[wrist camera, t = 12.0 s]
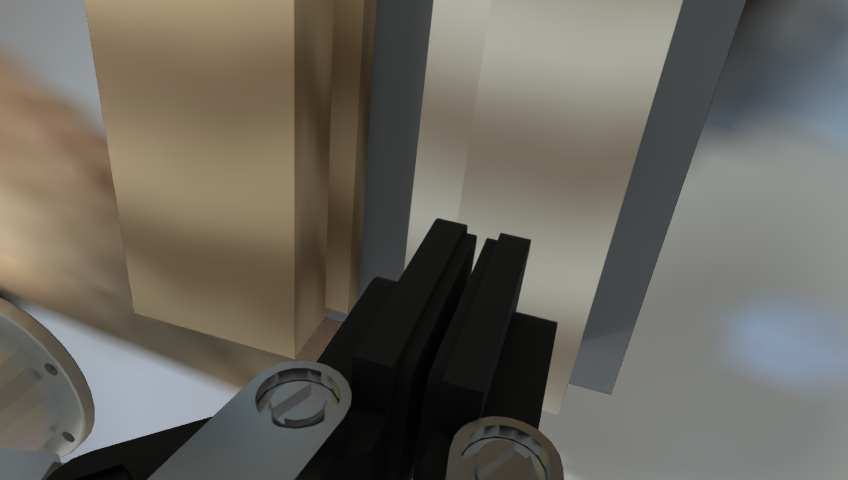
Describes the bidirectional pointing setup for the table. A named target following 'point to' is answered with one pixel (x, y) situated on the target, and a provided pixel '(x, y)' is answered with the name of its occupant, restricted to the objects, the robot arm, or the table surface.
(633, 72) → the grey long block
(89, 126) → the table surface
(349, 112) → the oak plank
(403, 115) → the slate board
